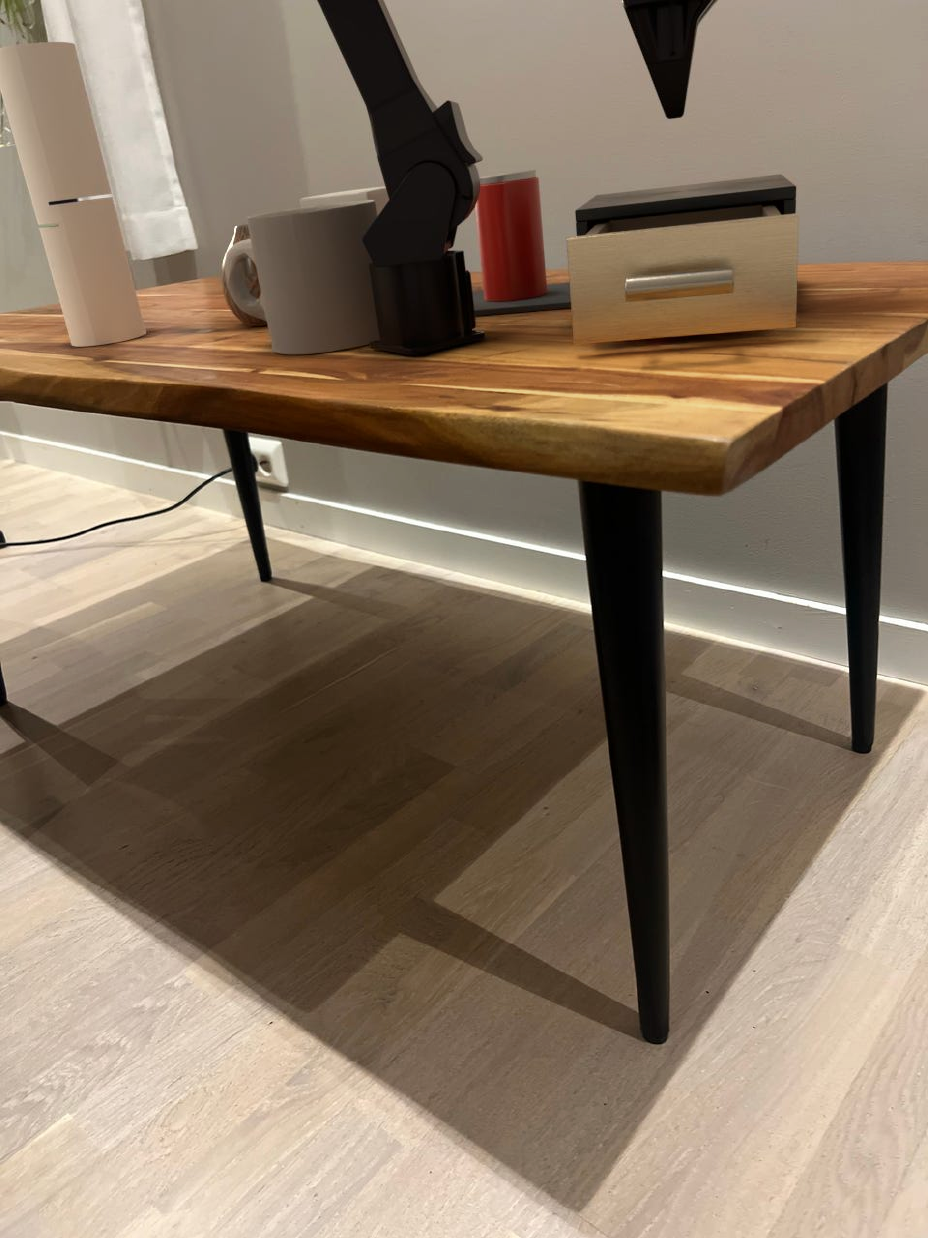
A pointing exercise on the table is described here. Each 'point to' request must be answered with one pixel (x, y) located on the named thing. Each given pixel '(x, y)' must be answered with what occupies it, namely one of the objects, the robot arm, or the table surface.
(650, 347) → the table surface
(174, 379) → the table surface
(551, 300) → the mat
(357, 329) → the coffee mug
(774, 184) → the cabinet
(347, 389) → the table surface
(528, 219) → the can
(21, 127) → the cylindrical container
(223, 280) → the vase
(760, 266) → the drawer
